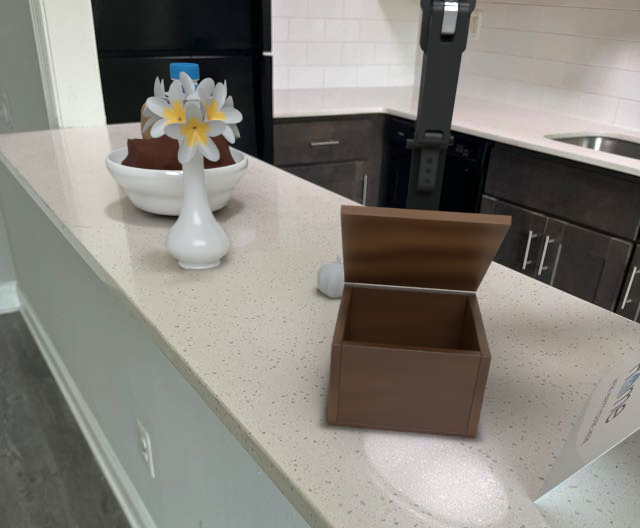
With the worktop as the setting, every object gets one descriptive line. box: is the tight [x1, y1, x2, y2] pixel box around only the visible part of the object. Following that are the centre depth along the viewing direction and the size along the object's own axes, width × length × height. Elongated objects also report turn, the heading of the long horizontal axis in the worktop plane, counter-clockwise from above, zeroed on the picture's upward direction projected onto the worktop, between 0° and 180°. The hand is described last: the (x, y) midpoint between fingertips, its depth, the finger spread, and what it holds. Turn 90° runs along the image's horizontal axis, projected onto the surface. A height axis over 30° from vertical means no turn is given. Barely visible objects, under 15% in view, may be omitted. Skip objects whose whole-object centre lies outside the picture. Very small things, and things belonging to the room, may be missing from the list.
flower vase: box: [142, 72, 243, 271], centre depth 91 cm, size 13×18×25 cm
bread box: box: [326, 283, 492, 439], centre depth 65 cm, size 15×14×9 cm
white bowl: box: [104, 134, 249, 217], centre depth 118 cm, size 25×25×15 cm
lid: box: [339, 204, 513, 293], centre depth 61 cm, size 16×14×1 cm
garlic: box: [316, 254, 357, 299], centre depth 88 cm, size 6×5×5 cm
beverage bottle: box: [169, 62, 200, 94], centre depth 158 cm, size 8×8×20 cm
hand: (420, 226), depth 58 cm, fingers closed
